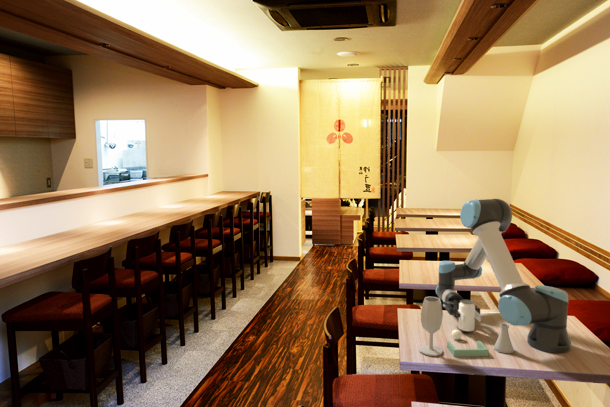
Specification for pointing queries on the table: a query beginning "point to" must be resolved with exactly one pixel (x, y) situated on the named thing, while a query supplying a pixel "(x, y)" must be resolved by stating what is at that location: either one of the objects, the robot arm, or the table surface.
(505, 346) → the flask
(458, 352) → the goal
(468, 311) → the can
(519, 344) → the table surface
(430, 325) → the wineglass
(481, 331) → the table surface
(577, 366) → the table surface
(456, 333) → the ball
